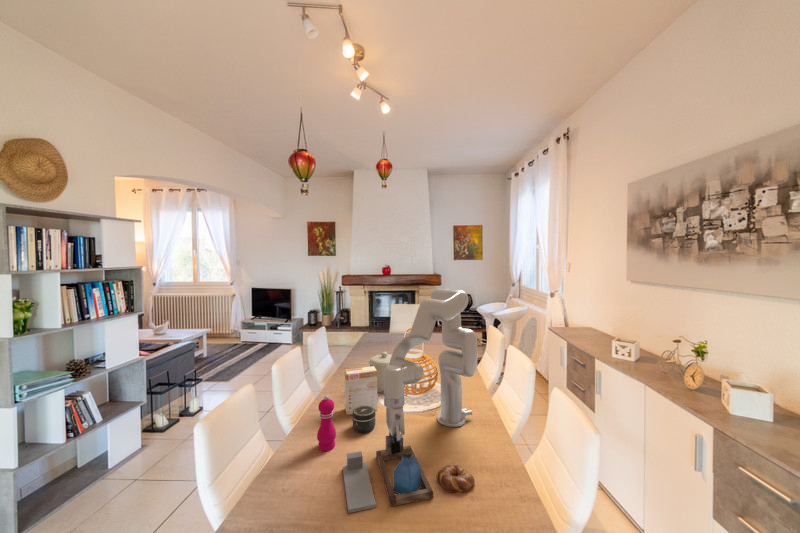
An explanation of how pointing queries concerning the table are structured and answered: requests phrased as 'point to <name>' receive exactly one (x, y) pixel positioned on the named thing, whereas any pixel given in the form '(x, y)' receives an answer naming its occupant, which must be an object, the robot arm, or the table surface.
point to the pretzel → (455, 478)
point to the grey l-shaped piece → (357, 484)
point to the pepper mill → (326, 425)
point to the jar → (363, 419)
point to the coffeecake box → (360, 388)
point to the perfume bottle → (407, 474)
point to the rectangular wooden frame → (393, 498)
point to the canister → (380, 368)
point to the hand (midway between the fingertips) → (394, 449)
